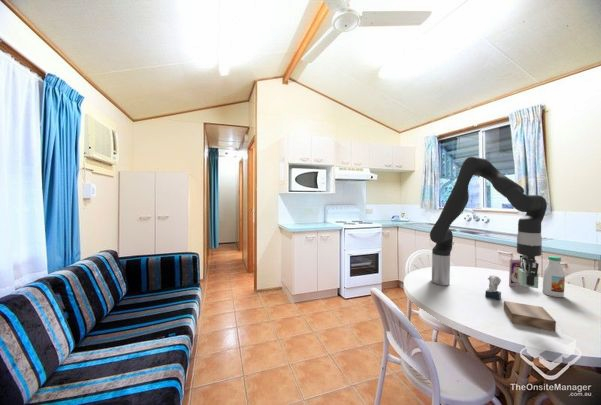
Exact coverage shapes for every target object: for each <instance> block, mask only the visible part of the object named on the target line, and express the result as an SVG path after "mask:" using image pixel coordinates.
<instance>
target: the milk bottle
mask: <svg viewBox="0 0 601 405" xmlns="http://www.w3.org/2000/svg"><path fill="white" fill-rule="evenodd" d="M547 260H548V263H547V264H546V266H545V267H544V270H543V275H542V277H543V278H542V293H543V294H545V295H546V296H550V297H553V298H564V296H565V282H566V281H565V270H564V269H563V267H562V265H561V263H562V257H560V256H555V255H549V256H548V259H547Z"/></svg>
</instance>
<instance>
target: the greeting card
mask: <svg viewBox="0 0 601 405" xmlns="http://www.w3.org/2000/svg"><path fill="white" fill-rule="evenodd" d="M523 265H524V264H523ZM519 269H521V268H520V258H519V259H513V256H511V257H510V259H509V277H508V280H509V281H508V287H514V286H521V285H520V284H519V283H518V271H519Z"/></svg>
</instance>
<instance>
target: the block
mask: <svg viewBox="0 0 601 405" xmlns="http://www.w3.org/2000/svg"><path fill="white" fill-rule="evenodd" d="M531 273H533V272H532V271H531ZM518 283H519V284H520V285H519V286H521V287H524V288H533V289H539V273H537V277H534V286H529V285H527V284H526V283H527V275H526V270H525V269H519V271H518Z"/></svg>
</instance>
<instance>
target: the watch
mask: <svg viewBox="0 0 601 405" xmlns="http://www.w3.org/2000/svg"><path fill="white" fill-rule="evenodd" d="M487 280H488V281H489V282H488V288H486V289H485V294H484V295H485V297H486V298H487V299H492V300H496V301H500V300H501V297H502V291H499V290H498V286H500V284H501V282H502V279H501V278H500V277H499V276H496V275H494V274H493V275H489V276H488V277H487Z"/></svg>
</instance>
